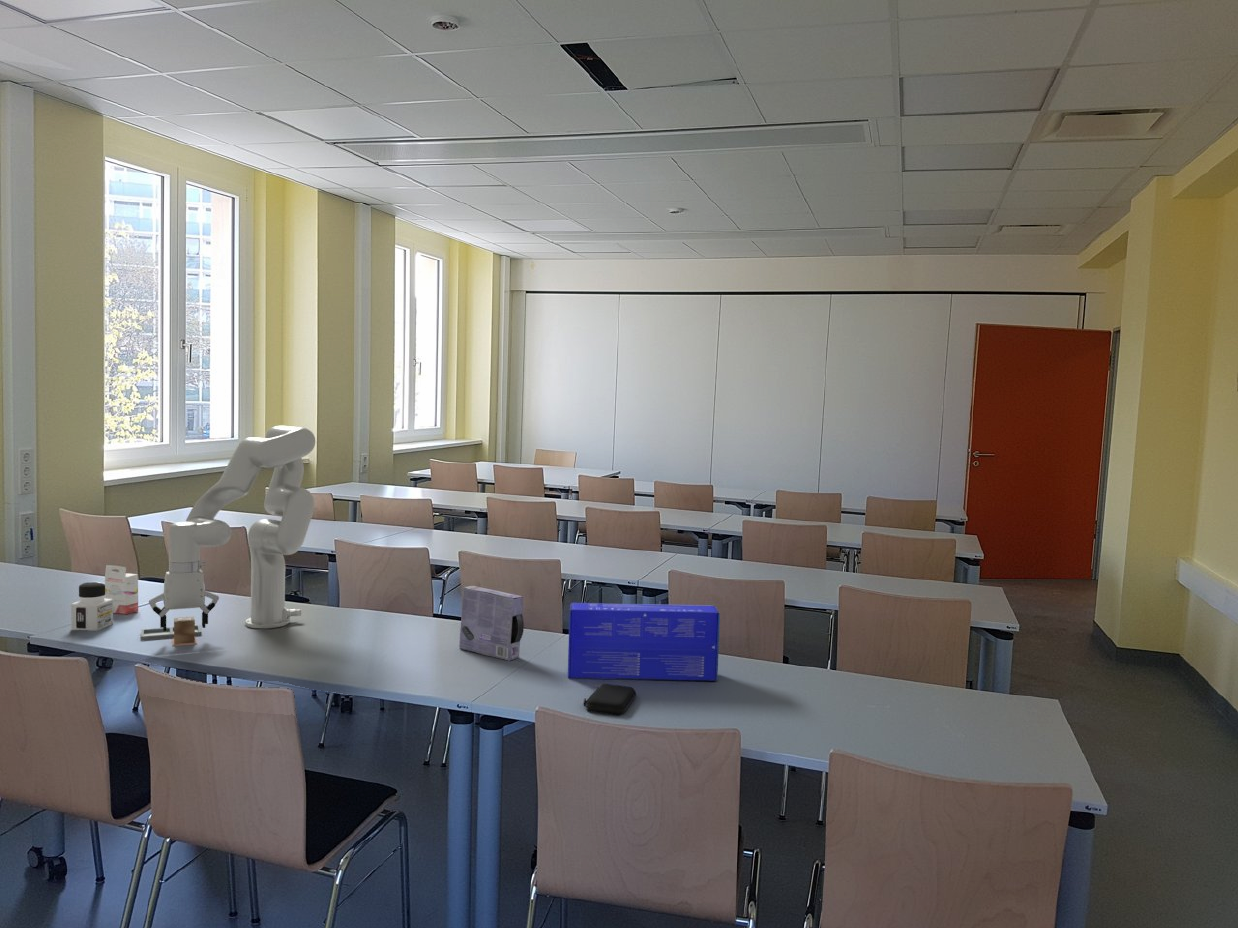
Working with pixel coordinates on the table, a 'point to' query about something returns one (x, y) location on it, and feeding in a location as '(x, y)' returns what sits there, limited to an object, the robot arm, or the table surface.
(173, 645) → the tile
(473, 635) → the cake pan box
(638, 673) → the toner cartridge box
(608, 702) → the carrying case or bag
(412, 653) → the table surface
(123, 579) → the ink cartridge box
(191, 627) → the brown labeled box
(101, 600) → the container
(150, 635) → the cubby strip
